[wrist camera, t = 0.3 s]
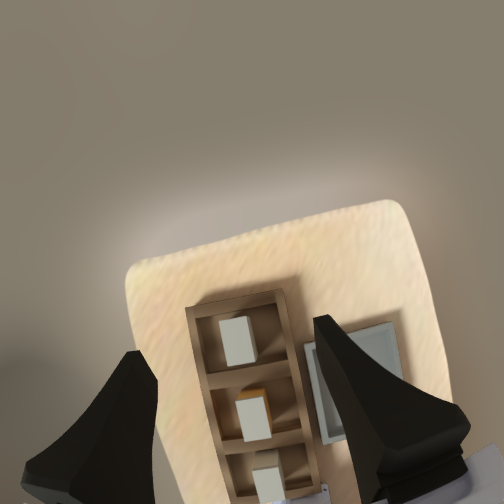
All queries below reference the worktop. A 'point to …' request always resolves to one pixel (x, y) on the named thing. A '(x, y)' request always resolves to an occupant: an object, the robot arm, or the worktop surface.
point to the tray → (330, 426)
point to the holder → (252, 376)
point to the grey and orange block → (254, 414)
